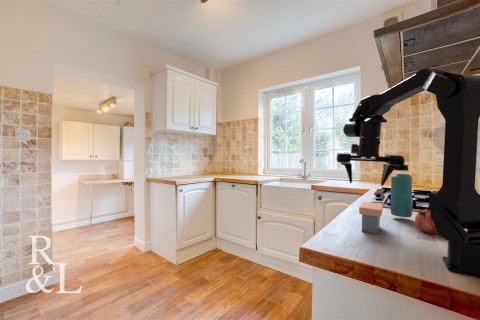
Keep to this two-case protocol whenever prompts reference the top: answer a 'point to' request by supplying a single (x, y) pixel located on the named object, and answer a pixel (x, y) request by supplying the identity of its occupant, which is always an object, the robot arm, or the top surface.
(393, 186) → the beverage bottle
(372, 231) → the box
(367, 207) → the lid
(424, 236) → the top surface
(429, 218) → the pomegranate
